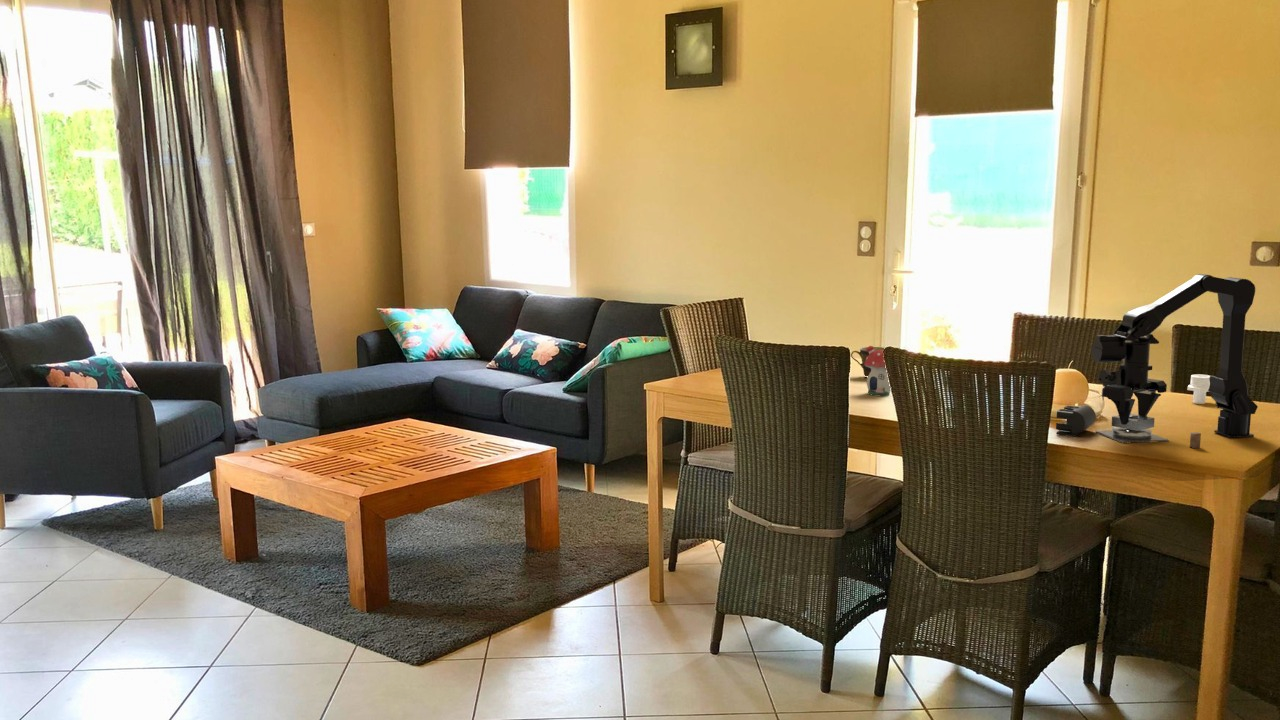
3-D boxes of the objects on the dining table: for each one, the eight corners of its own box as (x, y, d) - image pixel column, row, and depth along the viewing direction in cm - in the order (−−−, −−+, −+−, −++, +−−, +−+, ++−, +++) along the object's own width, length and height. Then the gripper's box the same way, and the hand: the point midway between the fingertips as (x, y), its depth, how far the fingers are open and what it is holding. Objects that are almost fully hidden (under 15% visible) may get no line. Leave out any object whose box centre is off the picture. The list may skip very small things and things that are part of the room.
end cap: (1084, 438, 256) (1085, 412, 255) (1055, 434, 261) (1056, 409, 260) (1095, 431, 264) (1096, 405, 263) (1067, 427, 268) (1068, 402, 267)
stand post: (1195, 446, 247) (1196, 432, 246) (1202, 448, 244) (1203, 434, 244) (1187, 446, 246) (1188, 432, 246) (1193, 448, 244) (1194, 434, 244)
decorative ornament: (860, 393, 321) (861, 345, 318) (875, 390, 324) (876, 344, 322) (881, 397, 313) (882, 349, 311) (897, 395, 316) (898, 347, 314)
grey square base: (1128, 422, 261) (1128, 413, 261) (1154, 427, 255) (1154, 417, 255) (1111, 425, 258) (1112, 416, 257) (1137, 430, 252) (1137, 421, 251)
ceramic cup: (887, 375, 352) (887, 346, 351) (891, 380, 342) (892, 351, 341) (849, 375, 353) (849, 346, 352) (852, 380, 343) (852, 351, 342)
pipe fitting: (1217, 404, 295) (1219, 377, 294) (1192, 404, 295) (1194, 377, 294) (1205, 400, 301) (1207, 373, 300) (1181, 400, 301) (1183, 374, 300)
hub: (1138, 430, 264) (1140, 410, 263) (1168, 441, 252) (1169, 419, 251) (1095, 432, 262) (1096, 412, 261) (1123, 443, 250) (1124, 421, 250)
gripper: (1128, 354, 266) (1125, 412, 268) (1084, 361, 256) (1081, 421, 258) (1169, 359, 256) (1165, 420, 259) (1125, 366, 247) (1121, 429, 249)
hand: (1132, 422), depth 256 cm, fingers closed on grey square base, 7 cm apart
